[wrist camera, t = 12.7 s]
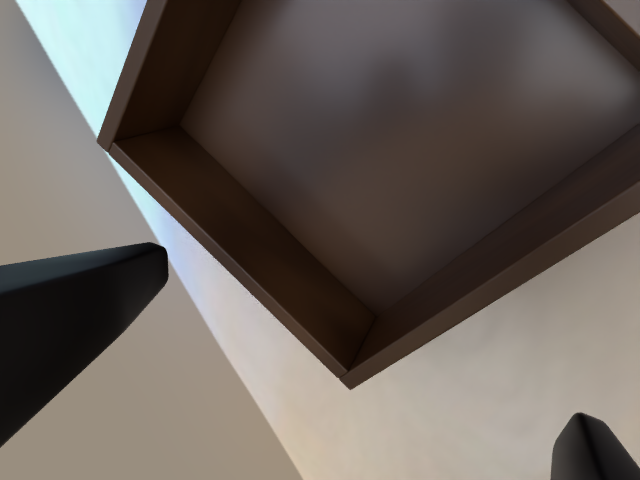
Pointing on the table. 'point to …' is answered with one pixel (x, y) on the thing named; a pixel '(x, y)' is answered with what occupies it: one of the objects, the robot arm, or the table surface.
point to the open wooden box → (383, 152)
